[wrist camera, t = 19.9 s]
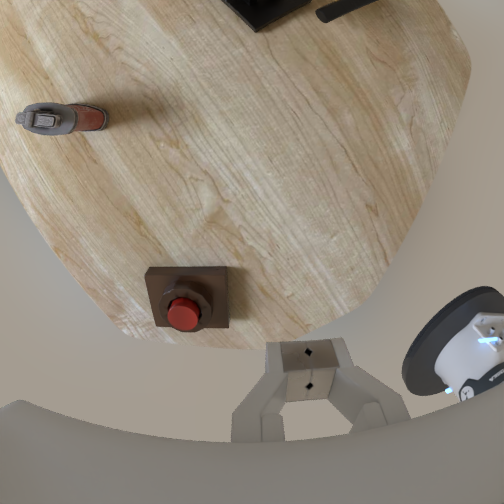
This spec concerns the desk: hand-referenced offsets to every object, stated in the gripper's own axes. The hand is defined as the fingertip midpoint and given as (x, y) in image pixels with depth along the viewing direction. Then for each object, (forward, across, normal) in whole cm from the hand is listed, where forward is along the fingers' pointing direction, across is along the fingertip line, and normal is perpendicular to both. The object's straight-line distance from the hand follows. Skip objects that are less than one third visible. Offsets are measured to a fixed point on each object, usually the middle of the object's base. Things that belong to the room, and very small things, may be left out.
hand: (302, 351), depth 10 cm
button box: (+23, +10, +12) cm, 28 cm away
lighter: (+23, +22, -12) cm, 34 cm away
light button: (+19, +10, +12) cm, 25 cm away
